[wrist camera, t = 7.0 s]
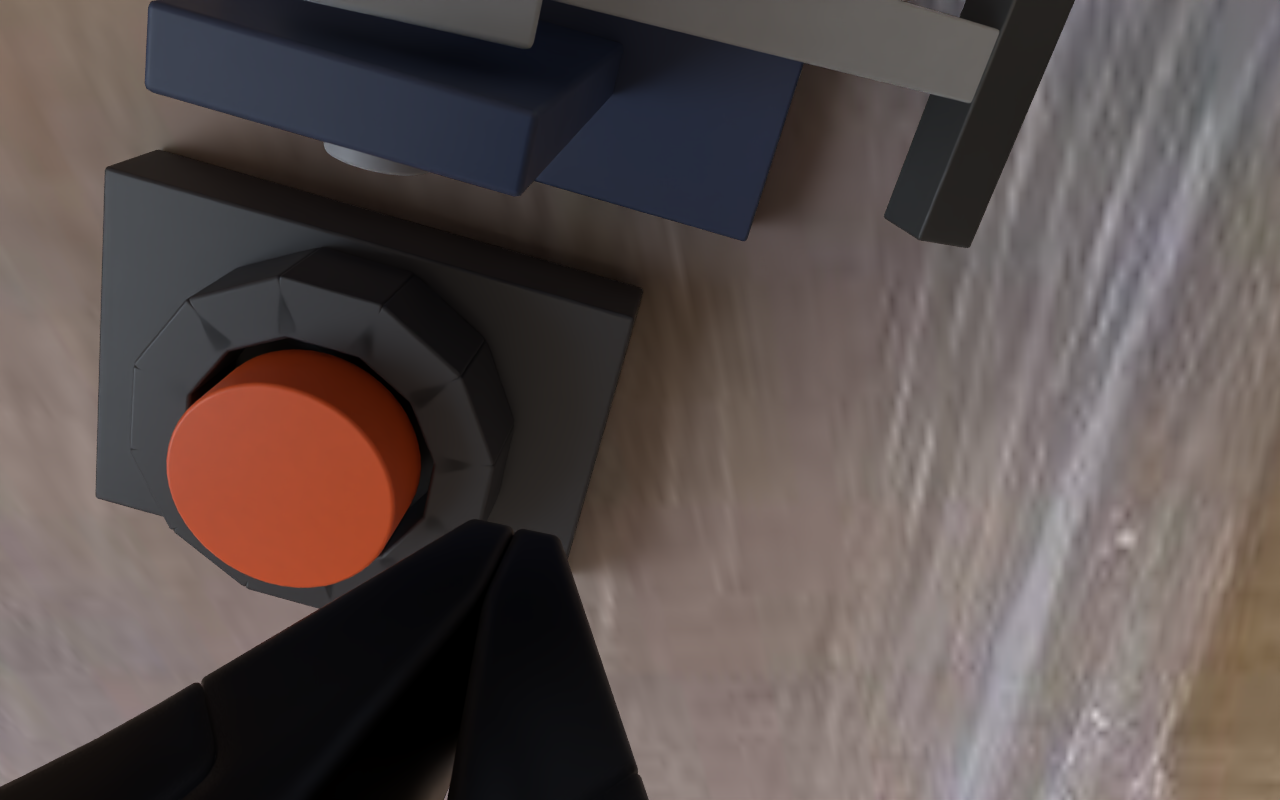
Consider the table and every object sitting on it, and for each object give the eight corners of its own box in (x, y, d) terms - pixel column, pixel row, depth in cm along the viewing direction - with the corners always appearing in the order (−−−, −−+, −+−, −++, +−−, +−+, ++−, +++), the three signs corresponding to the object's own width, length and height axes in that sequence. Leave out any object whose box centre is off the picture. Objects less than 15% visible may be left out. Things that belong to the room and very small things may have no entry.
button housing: (644, 287, 22) (624, 355, 18) (562, 576, 25) (532, 682, 21) (156, 147, 21) (38, 187, 18) (141, 458, 25) (38, 545, 21)
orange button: (439, 383, 19) (412, 422, 18) (403, 564, 21) (376, 614, 19) (218, 321, 19) (170, 354, 17) (202, 508, 21) (158, 554, 19)
